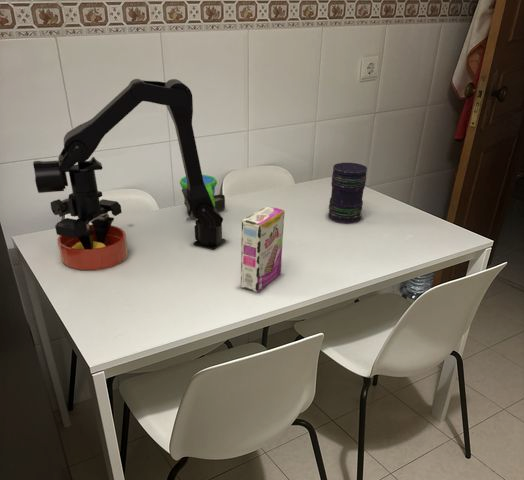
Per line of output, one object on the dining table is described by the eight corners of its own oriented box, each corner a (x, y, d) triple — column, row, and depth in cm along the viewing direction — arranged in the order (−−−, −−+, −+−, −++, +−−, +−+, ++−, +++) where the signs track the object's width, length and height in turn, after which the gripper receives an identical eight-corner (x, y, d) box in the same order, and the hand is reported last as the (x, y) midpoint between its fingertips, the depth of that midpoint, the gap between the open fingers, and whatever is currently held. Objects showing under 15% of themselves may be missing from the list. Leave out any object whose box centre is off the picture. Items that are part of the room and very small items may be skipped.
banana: (120, 250, 132) (114, 242, 129) (112, 265, 130) (106, 257, 127) (80, 243, 135) (74, 234, 132) (72, 257, 134) (66, 249, 131)
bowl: (141, 251, 136) (138, 231, 133) (99, 276, 124) (95, 255, 121) (92, 239, 142) (88, 219, 139) (47, 262, 130) (42, 241, 127)
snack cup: (175, 207, 163) (172, 174, 157) (206, 202, 167) (205, 170, 161) (192, 224, 152) (190, 189, 146) (225, 219, 156) (225, 185, 150)
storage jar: (366, 216, 160) (373, 166, 152) (352, 226, 153) (359, 174, 145) (336, 209, 164) (341, 160, 156) (322, 218, 158) (326, 168, 149)
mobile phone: (220, 192, 161) (181, 202, 151) (227, 194, 159) (188, 204, 150) (220, 208, 163) (182, 218, 154) (227, 210, 162) (189, 221, 153)
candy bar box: (258, 293, 119) (260, 224, 110) (240, 288, 121) (239, 219, 112) (282, 274, 127) (285, 209, 117) (264, 269, 129) (266, 204, 119)
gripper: (80, 173, 133) (91, 232, 142) (29, 196, 118) (44, 259, 127) (118, 179, 130) (126, 238, 139) (70, 203, 115) (82, 267, 124)
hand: (95, 250), depth 132 cm, fingers open, 4 cm apart
